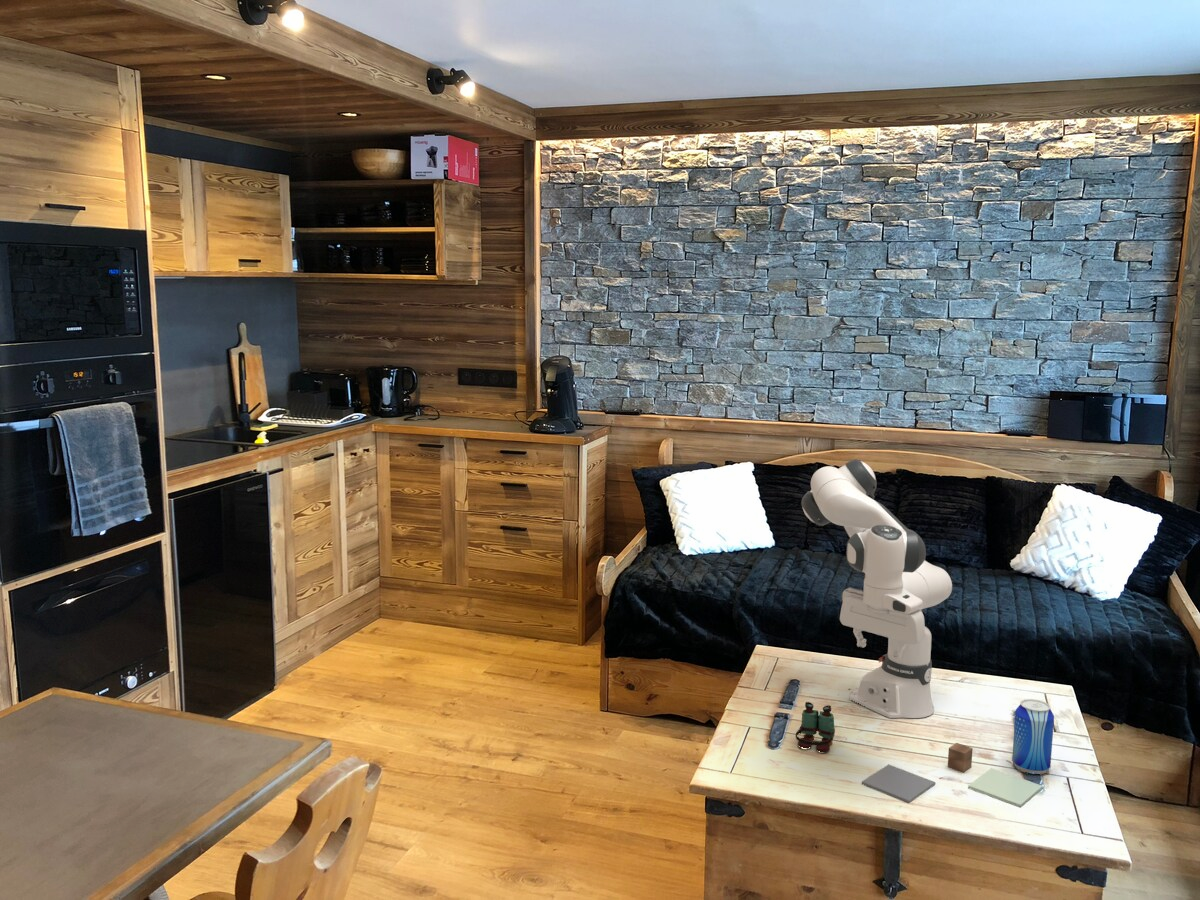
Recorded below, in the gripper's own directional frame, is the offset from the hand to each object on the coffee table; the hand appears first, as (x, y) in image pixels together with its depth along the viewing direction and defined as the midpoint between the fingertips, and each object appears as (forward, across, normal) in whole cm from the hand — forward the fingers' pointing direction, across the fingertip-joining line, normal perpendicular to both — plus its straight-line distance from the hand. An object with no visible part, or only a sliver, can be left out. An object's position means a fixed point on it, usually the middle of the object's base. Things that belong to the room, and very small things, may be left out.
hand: (879, 651), depth 229 cm
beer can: (+29, +28, +25) cm, 47 cm away
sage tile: (+28, +27, +11) cm, 41 cm away
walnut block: (+29, +15, +14) cm, 35 cm away
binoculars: (+29, -15, -2) cm, 33 cm away
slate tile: (+29, +9, -4) cm, 30 cm away
